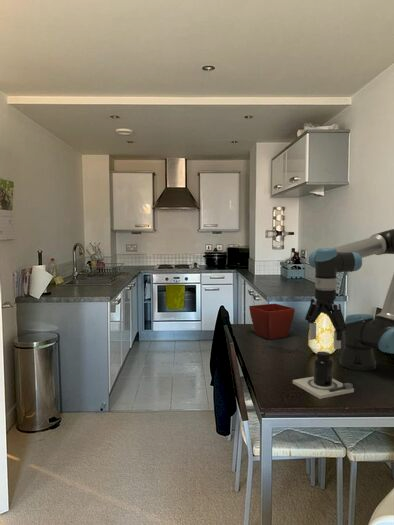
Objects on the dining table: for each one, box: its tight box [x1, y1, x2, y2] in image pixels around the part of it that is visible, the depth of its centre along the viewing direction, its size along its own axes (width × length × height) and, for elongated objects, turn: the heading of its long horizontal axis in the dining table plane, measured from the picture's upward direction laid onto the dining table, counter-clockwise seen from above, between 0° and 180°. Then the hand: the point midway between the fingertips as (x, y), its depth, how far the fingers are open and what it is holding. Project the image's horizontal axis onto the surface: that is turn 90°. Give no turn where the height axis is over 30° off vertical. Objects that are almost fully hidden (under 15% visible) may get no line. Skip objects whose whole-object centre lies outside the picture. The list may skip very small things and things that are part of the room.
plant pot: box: [248, 303, 296, 340], centre depth 226 cm, size 19×19×17 cm
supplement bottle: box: [313, 351, 333, 386], centre depth 152 cm, size 7×7×12 cm
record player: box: [292, 376, 355, 400], centre depth 152 cm, size 16×16×3 cm
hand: (324, 343), depth 151 cm, fingers open, 13 cm apart
